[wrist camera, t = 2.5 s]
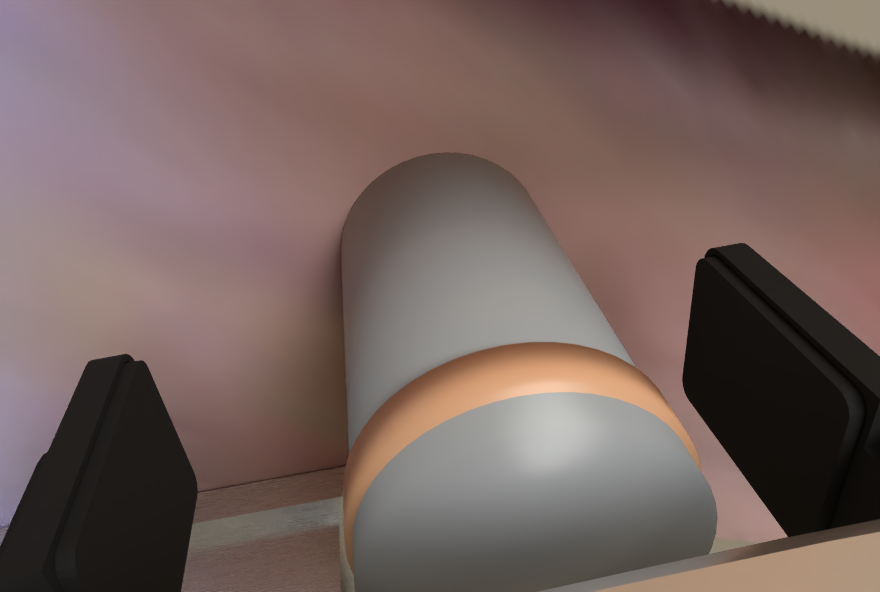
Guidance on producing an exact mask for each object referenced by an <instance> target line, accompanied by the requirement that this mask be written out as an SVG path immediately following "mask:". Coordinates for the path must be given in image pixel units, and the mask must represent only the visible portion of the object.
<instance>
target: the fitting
mask: <svg viewBox="0 0 880 592" xmlns="http://www.w3.org/2000/svg"><path fill="white" fill-rule="evenodd" d="M345 467H346V466H344V467H339V468H333V469H327V470H322V471H316V472H311V473H305V474H300V475H294V476H289V477H283V478H277V479H272V480H266V481H261V482H255V483H250V484H244V485H238V486H233V487H227V488H222V489H216V490H211V491H205V492H200V493H198V494H197V501H196V507H195V513H194V519H193V525H192V530H191V536H190V542H189V548H188V554H187V560H186V565H185V571H184V577H183V583H182V589H181V592H355V588H354V575H353V573H352V571H351V568H350V566H349V563H348V561H347V556H346V551H345V545H344V515H343V476H344V472H345ZM8 528H9V527H5V528H0V545H1V543H2V541H3V539H4V536H5V534H6V532H7V530H8Z"/></svg>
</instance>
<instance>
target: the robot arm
mask: <svg viewBox="0 0 880 592" xmlns="http://www.w3.org/2000/svg"><path fill="white" fill-rule="evenodd" d="M682 382H683V388H684V391H685V394H686V396H687V398H688V399H689V401H690V402H691V404H692V405H693V406H694V408H695V409H696V410H697V412H698V413H699V415H700V416H701V417H702V419H703V420H704V421H705V423H706V424H707V426H708V427H709V428H710V430H711V431H712V432H713V434H714V435H715V437H716V438H717V439H718V441H719V442H720V444H721V445H722V446H723V448H724V449H725V450H726V452H727V453H728V455H729V456H730V457H731V459H732V460H733V461H734V463H735V464H736V466H737V467H738V468H739V470H740V471H741V472H742V474H743V475H744V477H745V478H746V479H747V481H748V482H749V483H750V485H751V486H752V488H753V489H754V490H755V492H756V493H757V494H758V496H759V497H760V499H761V500H762V501H763V503H764V504H765V505H766V507H767V508H768V510H769V511H770V512H771V514H772V515H773V516H774V518H775V519H776V521H777V522H778V523H779V525H780V526H781V527H782V529H783V530H784V532H785V533H786V534H787V536H788V537H787V538H782V539H778V540H773V541H768V542H764V543H759V544H754V545H750V546H745V547H741V548H736V549H732V550H727V551H722V552H717V553H713V554H708V555H703V556H699V557H694V558H689V559H685V560H680V561H675V562H671V563H666V564H661V565H657V566H652V567H648V568H643V569H638V570H634V571H629V572H624V573H620V574H615V575H611V576H606V577H602V578H597V579H593V580H588V581H584V582H579V583H574V584H570V585H565V586H561V587H556V588H552V589H547V590H543V591H538V592H880V356H879V355H877V354H876V353H875V352H874V351H873V350H871V349H870V348H869V347H868V346H867V345H866V344H864V343H863V342H862V341H861V340H860V339H858V338H857V337H856V336H855V335H854V334H853V333H851V332H850V331H849V330H848V329H847V328H845V327H844V326H843V325H842V324H841V323H839V322H838V321H837V320H836V319H835V318H834V317H832V316H831V315H830V314H829V313H828V312H826V311H825V310H824V309H823V308H822V307H821V306H819V305H818V304H817V303H816V302H815V301H813V300H812V299H811V298H810V297H809V296H807V295H806V294H805V293H804V292H803V291H802V290H800V289H799V288H798V287H797V286H796V285H794V284H793V283H792V282H791V281H790V280H789V279H787V278H786V277H785V276H784V275H783V274H781V273H780V272H779V271H778V270H777V269H776V268H774V267H773V266H772V265H771V264H770V263H768V262H767V261H766V260H765V259H764V258H762V257H761V256H760V255H759V254H758V253H757V252H755V251H754V250H753V249H752V248H751V247H749V246H748V245H746V244H745V243H739V244H733V245H727V246H722V247H716V248H711V249H709V250H708V251H707V253H706V254H705V258H702V259H700V260H699V261H698V262H697V265H696V271H695V279H694V287H693V295H692V303H691V312H690V320H689V328H688V336H687V345H686V353H685V361H684V369H683V379H682ZM197 494H198V491H197V481H196V477H195V474H194V471H193V469H192V467H191V465H190V462H189V460H188V458H187V455H186V453H185V451H184V448H183V446H182V444H181V442H180V439H179V437H178V435H177V432H176V430H175V428H174V426H173V423H172V421H171V419H170V416H169V414H168V412H167V410H166V407H165V405H164V403H163V400H162V398H161V396H160V394H159V391H158V389H157V387H156V384H155V382H154V380H153V378H152V375H151V373H150V371H149V368H148V366H147V365H146V363H145V362H144V361H142V360H140V361H134V359H133V358H132V357H131V356H130V355H128V354H123V355H118V356H112V357H107V358H101V359H96V360H91V361H89V362H88V364H87V365H86V367H85V369H84V371H83V374H82V376H81V378H80V381H79V383H78V385H77V387H76V390H75V392H74V394H73V396H72V399H71V401H70V403H69V405H68V408H67V410H66V412H65V414H64V417H63V419H62V421H61V423H60V426H59V428H58V430H57V432H56V435H55V437H54V439H53V442H52V444H51V446H50V448H49V451H48V452H47V453H45V454H44V455H43V456H42V457H41V459H40V460H39V462H38V463H37V466H36V468H35V470H34V472H33V474H32V477H31V479H30V481H29V483H28V485H27V488H26V490H25V492H24V494H23V497H22V499H21V501H20V503H19V505H18V508H17V510H16V512H15V514H14V516H13V519H12V521H11V523H10V525H9V528H8V530H7V532H6V534H5V536H4V539H3V541H2V543H1V545H0V592H181V589H182V583H183V577H184V571H185V565H186V560H187V554H188V548H189V542H190V536H191V530H192V525H193V519H194V513H195V507H196V501H197Z"/></svg>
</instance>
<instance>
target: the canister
mask: <svg viewBox="0 0 880 592" xmlns="http://www.w3.org/2000/svg"><path fill="white" fill-rule="evenodd" d="M341 267H342V292H343V317H344V342H345V367H346V392H347V417H348V442H349V456H348V459H347V462H346V467H345V472H344V476H343V515H344V545H345V551H346V556H347V561H348V563H349V566H350V568H351V571H352V573H353V575H354V588H355V592H538V591H543V590H547V589H552V588H556V587H561V586H565V585H570V584H574V583H579V582H584V581H588V580H593V579H597V578H602V577H606V576H611V575H615V574H620V573H624V572H629V571H634V570H638V569H643V568H648V567H652V566H657V565H661V564H666V563H671V562H675V561H680V560H685V559H689V558H694V557H699V556H703V555H708V554H709V552H710V550H711V548H712V544H713V541H714V537H715V534H716V526H717V510H716V502H715V499H714V496H713V493H712V490H711V488H710V486H709V485H708V483H707V481H706V480H705V478H704V476H703V475H702V473H701V466H700V460H699V457H698V454H697V451H696V449H695V446H694V445H693V443H692V441H691V439H690V438H689V436H688V434H687V433H686V431H685V430H684V428H683V426H682V425H681V423H680V422H679V420H678V419H677V417H676V415H675V414H674V412H673V411H672V409H671V408H670V406H669V404H668V403H667V401H666V400H665V398H664V397H663V395H662V393H661V392H660V390H659V389H658V388H657V387H656V386H655V384H654V383H653V382H652V381H651V380H650V379H649V378H648V377H647V376H646V375H645V374H643V373H642V372H641V371H640V370H638V369H637V368H636V366H635V365H634V363H633V362H632V360H631V358H630V357H629V355H628V354H627V352H626V350H625V349H624V347H623V345H622V344H621V342H620V341H619V339H618V337H617V336H616V334H615V333H614V331H613V329H612V328H611V326H610V324H609V323H608V321H607V320H606V318H605V316H604V315H603V313H602V312H601V310H600V308H599V307H598V305H597V303H596V302H595V300H594V299H593V297H592V295H591V294H590V292H589V291H588V289H587V287H586V286H585V284H584V282H583V281H582V279H581V278H580V276H579V274H578V273H577V271H576V270H575V268H574V266H573V265H572V263H571V261H570V260H569V258H568V257H567V255H566V253H565V252H564V250H563V248H562V247H561V245H560V244H559V242H558V240H557V239H556V237H555V236H554V234H553V232H552V231H551V229H550V227H549V226H548V224H547V223H546V221H545V219H544V218H543V216H542V215H541V213H540V211H539V210H538V208H537V206H536V205H535V203H534V202H533V200H532V198H531V197H530V195H529V194H528V192H527V190H526V189H525V188H524V187H523V185H522V184H521V183H520V182H519V181H518V180H517V179H516V178H515V177H514V176H513V175H512V174H511V173H509V172H508V171H507V170H505V169H503V168H502V167H500V166H499V165H497V164H495V163H493V162H491V161H488V160H486V159H483V158H480V157H477V156H474V155H468V154H462V153H436V154H429V155H424V156H419V157H416V158H413V159H410V160H407V161H404V162H402V163H400V164H398V165H396V166H394V167H392V168H391V169H389V170H387V171H386V172H384V173H383V174H381V175H380V176H379V177H378V178H376V179H375V180H374V181H373V182H372V183H371V184H370V185H369V186H368V187H367V188H366V189H365V190H364V191H363V192H362V193H361V195H360V196H359V197H358V199H357V200H356V202H355V203H354V205H353V206H352V208H351V211H350V213H349V215H348V217H347V219H346V222H345V226H344V229H343V234H342V240H341Z"/></svg>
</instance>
